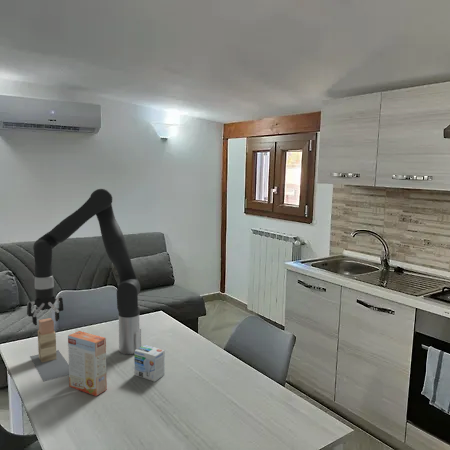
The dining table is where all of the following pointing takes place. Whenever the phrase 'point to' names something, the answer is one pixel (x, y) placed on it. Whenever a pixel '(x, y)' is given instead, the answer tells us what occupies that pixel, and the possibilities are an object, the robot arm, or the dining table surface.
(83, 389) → the cracker box
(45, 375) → the rubber mat
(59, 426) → the dining table surface
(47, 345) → the tower mid
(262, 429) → the dining table surface
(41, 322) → the terracotta cube
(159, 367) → the light bulb box
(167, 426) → the dining table surface
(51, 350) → the tower base
